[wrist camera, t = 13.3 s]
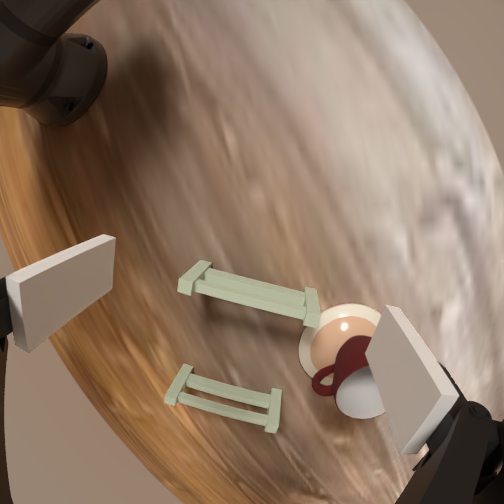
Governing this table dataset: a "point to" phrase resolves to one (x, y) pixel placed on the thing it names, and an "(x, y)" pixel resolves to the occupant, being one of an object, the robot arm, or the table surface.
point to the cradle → (253, 296)
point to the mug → (352, 381)
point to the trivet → (334, 335)
